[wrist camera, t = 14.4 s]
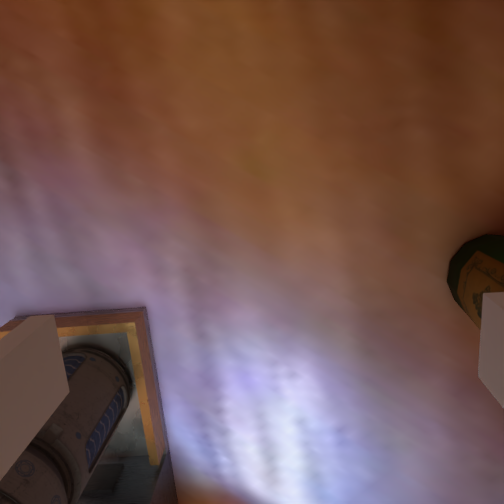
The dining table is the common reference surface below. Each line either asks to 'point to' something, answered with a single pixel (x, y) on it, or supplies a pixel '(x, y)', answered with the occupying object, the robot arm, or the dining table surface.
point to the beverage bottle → (71, 433)
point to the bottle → (477, 273)
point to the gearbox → (137, 414)
